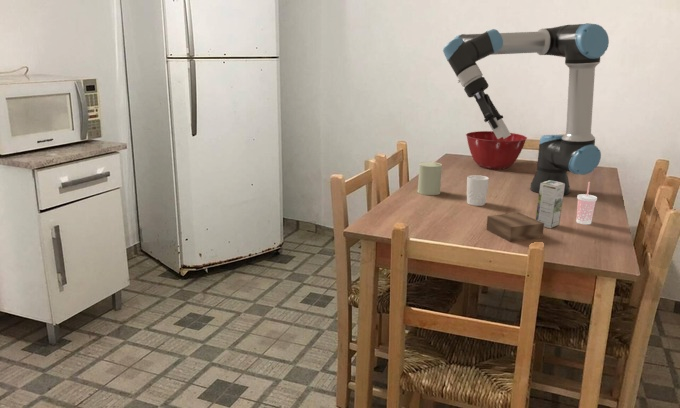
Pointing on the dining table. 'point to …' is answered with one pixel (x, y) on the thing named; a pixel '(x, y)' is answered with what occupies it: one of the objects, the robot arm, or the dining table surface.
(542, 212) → the drink carton
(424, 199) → the dining table surface
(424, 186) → the can
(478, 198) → the white cup
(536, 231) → the walnut block
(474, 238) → the dining table surface
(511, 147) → the mixing bowl
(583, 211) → the beverage cup
